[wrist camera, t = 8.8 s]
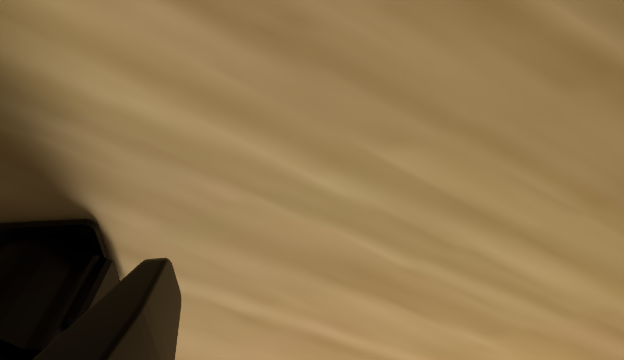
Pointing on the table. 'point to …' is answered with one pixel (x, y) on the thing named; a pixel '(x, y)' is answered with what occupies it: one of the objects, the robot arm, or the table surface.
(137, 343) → the robot arm
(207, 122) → the table surface
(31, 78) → the table surface
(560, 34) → the table surface
